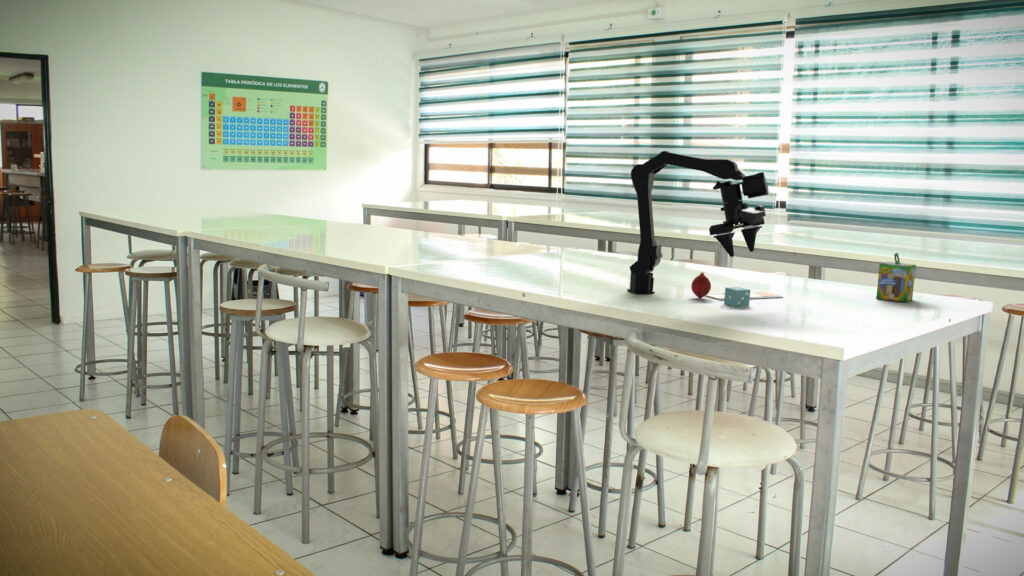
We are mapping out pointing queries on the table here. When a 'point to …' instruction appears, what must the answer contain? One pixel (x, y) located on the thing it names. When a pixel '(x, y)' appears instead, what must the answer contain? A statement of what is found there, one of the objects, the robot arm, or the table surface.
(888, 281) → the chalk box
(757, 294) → the board
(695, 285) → the onion
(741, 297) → the die
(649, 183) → the robot arm
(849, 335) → the table surface
